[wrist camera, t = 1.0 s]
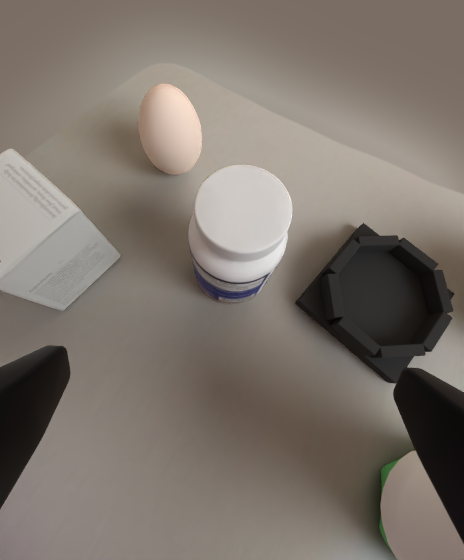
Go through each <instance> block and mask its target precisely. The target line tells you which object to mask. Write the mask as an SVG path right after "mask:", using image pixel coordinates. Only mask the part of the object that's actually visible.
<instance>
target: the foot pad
mask: <svg viewBox="0 0 464 560" xmlns="http://www.w3.org/2000/svg"><path fill="white" fill-rule="evenodd" d="M437 265H438V263H436V262H435V261H434V260H432V259H431V258H430V257H428V256H427V255H426V254H425V253H423V252H422V251H421V250H419V249H418V248H417V247H415V246H414V245H413V244H412V243H410V242H409V241H408V240H406V239H405V238H402V239H401V240H398V236H379V235H378V234H377V233H376V232H374V231H373V230H372V229H370V228H369V227H368V226H367V225H365V224H364V223H363V224H362V225H361V226H360V227H359V228H357V230H356V231H355V232H354V233H353V234H352V236H351V237H350V238H349V239H348V240H347V242H346V243H345V244H344V245H343V246H342V248H341V249H340V250H339V251H338V252H337V254H336V255H335V256H334V257H333V258H332V260H331V261H330V262H329V263H328V264H327V265H326V267H325V268H324V269H323V270H322V271H321V273H320V274H319V275H318V276H317V277H316V279H315V280H314V281H313V282H312V283H311V285H310V286H309V287H308V288H307V289H306V291H305V292H304V293H303V294H302V295H301V297H300V298H299V299H298V300H297V301H296V304H297V305H298V306H299V307H301V308H302V309H303V310H304V311H305V312H306V313H308V314H309V315H310V316H311V317H312V318H313V319H315V320H316V321H317V322H318V323H319V324H320V325H322V326H323V327H324V328H325V329H326V330H327V331H329V332H330V333H331V334H332V335H333V336H334V337H336V338H337V339H338V340H339V341H340V342H341V343H343V344H344V345H345V346H346V347H347V348H348V349H350V350H351V351H352V352H353V353H354V354H355V355H357V356H358V357H359V358H360V359H361V360H362V361H364V362H365V363H366V364H367V365H368V366H369V367H371V368H372V369H373V370H374V371H375V372H376V373H378V374H379V375H380V376H381V377H382V378H383V379H385V380H386V381H387V382H388V383H397V381H398V378H399V376H400V373H401V371H402V370H403V369H404V368H407V366H408V365H409V363H410V361H411V360H412V358H413V357H414V356H423V355H425V352H431V351H432V350H433V348H434V347H435V345H436V343H437V342H438V340H439V339H440V337H441V336H442V334H443V332H444V331H445V329H446V328H447V326H448V324H449V323H450V321H451V320H452V317H451V316H450V315H448V314H447V313H449V312H452V311H453V308H452V304H451V301H450V300H451V298H452V297H453V295H454V293H453V292H451V291H450V290H449V289H448V288H447V286H446V282H445V279H444V275H443V271H442V270H434V269H435V268H436V267H437Z"/></svg>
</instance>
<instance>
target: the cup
mask: <svg viewBox="0 0 464 560" xmlns="http://www.w3.org/2000/svg"><path fill="white" fill-rule="evenodd" d="M381 484H382V497H381V504H380V507H381V519H380V524H379V529H380V531H381V534H382V536H383V538H384V540H385V542H386V544H387V546H388V547H389V549H390V550H391V551H392V553H393V554H394V556H395V557H396V559H397V560H464V544H463V542H462V540H461V538H460V536H459V534H458V532H457V531H456V529H455V527H454V525H453V523H452V521H451V519H450V517H449V515H448V513H447V511H446V509H445V508H444V506H443V504H442V502H441V500H440V498H439V496H438V494H437V492H436V490H435V488H434V486H433V484H432V483H431V481H430V479H429V477H428V475H427V473H426V471H425V469H424V467H423V465H422V463H421V461H420V459H419V457H418V455H417V453H416V451H411V452H409V453H408V454H406V455H405V456H404V457H402V458H400V459H397V460H395V461H394V462H392V463H390V464H387V465H384V466H383V468H382V470H381Z"/></svg>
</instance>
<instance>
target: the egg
mask: <svg viewBox="0 0 464 560" xmlns="http://www.w3.org/2000/svg"><path fill="white" fill-rule="evenodd" d="M138 126H139V135H140V139H141V143H142V146H143V148H144V150H145V153H146V155H147V157H148V158H149V160H150V161H151V162H152V163H153V164H154V165H155V166H156V167H157V168H158V169H160V170H161V171H163V172H165V173H167V174H172V175H179V174H183V173H185V172H187V171H189V170H190V169H191V168H192V167H193V166H194V165H195V163H196V162H197V160H198V158H199V156H200V153H201V147H202V131H201V126H200V121H199V119H198V116H197V113H196V111H195V109H194V108H193V106H192V104H191V102H190V101H189V99H188V98H187V97H186V95H185V94H184V93H183V92H182V91H181V90H179V89H178V88H176V87H175V86H173V85H170V84H159V85H155V86H154V87H152V88H151V89H150V90H149V91H148V92H147V94H146V95H145V97H144V99H143V101H142V104H141V107H140V113H139V120H138Z"/></svg>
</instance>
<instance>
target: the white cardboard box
mask: <svg viewBox="0 0 464 560" xmlns="http://www.w3.org/2000/svg"><path fill="white" fill-rule="evenodd" d="M120 256H121V255H120V253H119V252H118V251H117V250H116V249H115V248H114V246H113V245H112V244H111V243H110V242H109V241H108V240H107V239H106V238H105V236H104V235H103V234H102V233H101V232H100V231H99V230H98V229H97V228H96V227H95V225H94V224H93V223H92V222H91V221H90V220H89V219H88V218H87V217H86V215H85V214H84V213H83V212H82V211H81V210H80V208H79V207H78V206H76V205H75V204H74V203H73V202H72V201H71V200H70V199H69V198H68V197H67V196H66V195H65V194H64V193H63V192H62V191H60V190H59V189H58V188H57V187H56V186H55V185H54V184H53V183H52V182H51V181H49V180H48V179H47V178H46V177H45V176H44V175H43V174H42V173H40V172H39V171H38V170H37V169H36V168H35V167H34V166H33V165H31V164H30V163H29V162H28V161H27V160H26V159H24V158H23V157H22V156H21V155H20V154H18V153H17V152H16V151H15V150H13V149H11V148H10V149H7V150H6V151H4V152H2V153H0V291H2V292H5V293H8V294H11V295H14V296H17V297H20V298H23V299H26V300H29V301H32V302H35V303H38V304H41V305H44V306H47V307H50V308H53V309H56V310H59V311H63V310H65V309H66V308H67V307H68V306H69V305H70V304H71V303H72V302H73V301H74V300H75V299H76V298H77V297H79V296H80V295H81V294H82V293H83V292H84V291H85V290H86V289H87V288H88V287H89V286H90V285H91V284H92V283H93V282H95V281H96V280H97V279H98V278H99V277H100V276H101V275H102V274H103V273H104V272H105V271H106V270H107V269H108V268H109V267H111V266H112V265H113V264H114V263H115V262H116V261H117V260H118V259H119V258H120Z"/></svg>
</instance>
